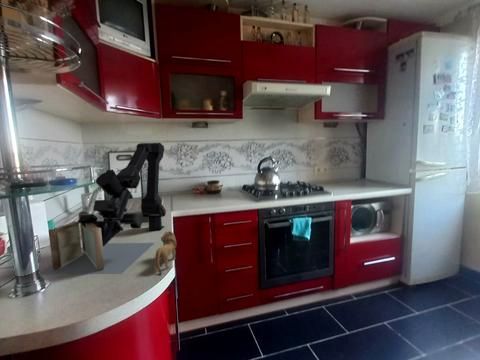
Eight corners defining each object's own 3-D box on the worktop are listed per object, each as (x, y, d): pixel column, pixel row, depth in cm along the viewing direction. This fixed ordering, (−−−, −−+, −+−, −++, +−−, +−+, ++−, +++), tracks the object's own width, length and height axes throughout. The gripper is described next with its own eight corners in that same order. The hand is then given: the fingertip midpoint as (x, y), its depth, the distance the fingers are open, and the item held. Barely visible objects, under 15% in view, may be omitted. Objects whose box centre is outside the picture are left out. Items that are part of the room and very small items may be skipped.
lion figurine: (162, 255, 83) (160, 229, 82) (178, 254, 83) (177, 228, 82) (151, 277, 68) (149, 246, 67) (171, 276, 69) (169, 245, 68)
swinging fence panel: (90, 249, 88) (87, 216, 86) (105, 268, 73) (101, 228, 71) (84, 251, 86) (80, 217, 85) (97, 270, 71) (93, 230, 70)
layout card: (89, 244, 95) (89, 243, 95) (155, 243, 94) (154, 242, 94) (34, 275, 71) (34, 273, 71) (121, 274, 70) (121, 273, 70)
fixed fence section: (85, 249, 90) (81, 210, 88) (93, 248, 89) (89, 210, 88) (49, 269, 74) (44, 223, 72) (59, 269, 73) (54, 223, 72)
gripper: (78, 189, 79) (55, 234, 70) (135, 188, 78) (119, 233, 69) (96, 208, 88) (78, 250, 78) (147, 207, 87) (135, 249, 77)
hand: (101, 245), depth 75 cm, fingers closed
